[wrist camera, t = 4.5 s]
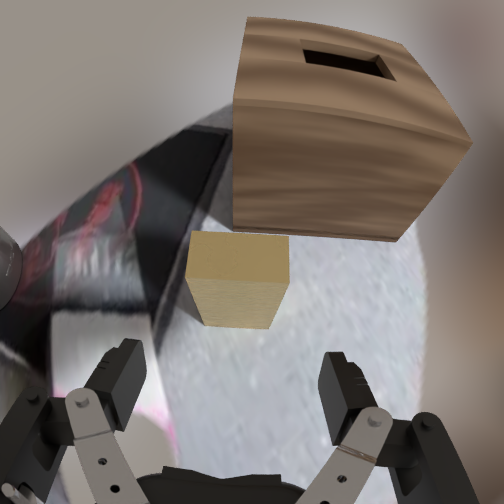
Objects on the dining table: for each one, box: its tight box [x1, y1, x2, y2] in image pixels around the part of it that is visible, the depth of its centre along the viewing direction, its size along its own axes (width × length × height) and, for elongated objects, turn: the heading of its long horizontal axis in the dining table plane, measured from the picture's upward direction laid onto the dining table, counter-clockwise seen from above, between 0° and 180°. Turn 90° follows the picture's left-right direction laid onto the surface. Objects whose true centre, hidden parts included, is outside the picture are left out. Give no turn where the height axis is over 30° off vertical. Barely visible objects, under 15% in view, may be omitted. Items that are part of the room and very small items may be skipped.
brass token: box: [185, 231, 290, 329], centre depth 19 cm, size 3×5×10 cm, turn 88°
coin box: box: [233, 17, 473, 242], centre depth 25 cm, size 16×16×14 cm
